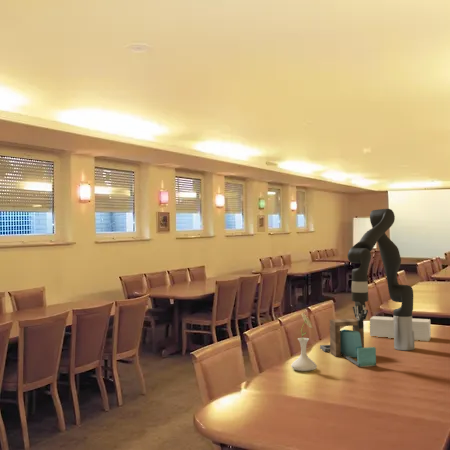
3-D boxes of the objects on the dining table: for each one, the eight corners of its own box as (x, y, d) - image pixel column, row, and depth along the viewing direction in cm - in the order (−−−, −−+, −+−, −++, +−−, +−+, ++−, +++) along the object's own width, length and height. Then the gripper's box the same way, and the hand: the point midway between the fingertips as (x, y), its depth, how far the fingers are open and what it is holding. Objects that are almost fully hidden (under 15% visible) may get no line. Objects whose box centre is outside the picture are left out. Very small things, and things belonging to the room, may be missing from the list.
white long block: (370, 337, 297) (369, 318, 297) (373, 334, 306) (373, 316, 307) (428, 341, 282) (428, 322, 282) (430, 338, 292) (430, 319, 292)
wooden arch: (357, 351, 260) (357, 318, 260) (364, 355, 252) (363, 321, 252) (330, 353, 258) (329, 319, 258) (335, 357, 250) (335, 322, 250)
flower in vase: (316, 373, 220) (315, 315, 221) (290, 372, 223) (289, 315, 223) (317, 366, 233) (316, 311, 234) (292, 365, 236) (291, 311, 236)
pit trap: (352, 347, 271) (352, 343, 271) (358, 350, 263) (358, 346, 263) (320, 348, 268) (320, 345, 268) (325, 352, 260) (325, 348, 260)
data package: (363, 355, 248) (360, 331, 249) (356, 358, 246) (353, 333, 246) (346, 352, 259) (343, 329, 259) (339, 354, 257) (336, 330, 257)
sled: (351, 350, 260) (350, 335, 260) (376, 365, 231) (375, 347, 231) (335, 351, 259) (335, 335, 259) (358, 366, 230) (358, 348, 230)
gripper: (373, 292, 232) (374, 330, 231) (361, 289, 245) (362, 325, 244) (357, 292, 231) (358, 331, 230) (346, 289, 244) (347, 326, 243)
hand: (360, 328), depth 237 cm, fingers closed
